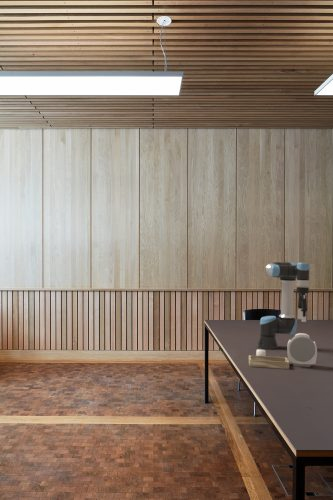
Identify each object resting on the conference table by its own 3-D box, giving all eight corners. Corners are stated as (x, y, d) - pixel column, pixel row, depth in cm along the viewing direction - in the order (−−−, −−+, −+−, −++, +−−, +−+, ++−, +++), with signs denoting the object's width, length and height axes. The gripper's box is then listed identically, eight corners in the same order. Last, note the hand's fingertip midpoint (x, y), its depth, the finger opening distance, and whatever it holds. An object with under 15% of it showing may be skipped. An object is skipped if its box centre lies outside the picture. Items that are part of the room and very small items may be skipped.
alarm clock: (316, 365, 274) (316, 333, 274) (316, 368, 266) (317, 336, 266) (286, 362, 279) (287, 331, 279) (286, 365, 271) (287, 333, 271)
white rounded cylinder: (255, 359, 285) (256, 349, 286) (265, 360, 285) (265, 349, 285) (256, 361, 280) (256, 351, 280) (265, 362, 279) (266, 351, 279)
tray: (248, 361, 280) (248, 355, 280) (286, 363, 276) (286, 357, 276) (249, 366, 267) (249, 360, 267) (289, 368, 263) (289, 362, 263)
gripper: (293, 285, 286) (293, 317, 286) (299, 288, 261) (298, 322, 261) (305, 285, 285) (304, 317, 284) (312, 288, 260) (311, 323, 260)
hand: (302, 320), depth 273 cm, fingers open, 13 cm apart
